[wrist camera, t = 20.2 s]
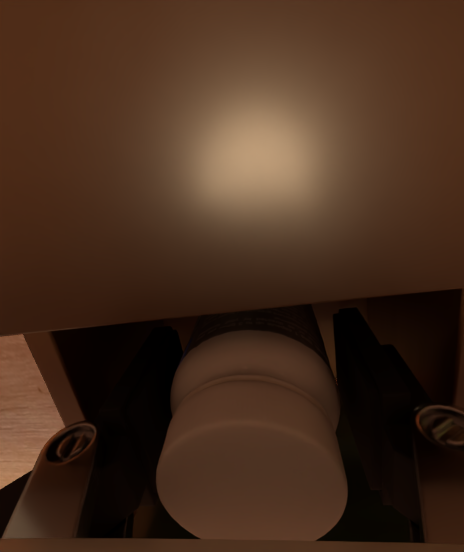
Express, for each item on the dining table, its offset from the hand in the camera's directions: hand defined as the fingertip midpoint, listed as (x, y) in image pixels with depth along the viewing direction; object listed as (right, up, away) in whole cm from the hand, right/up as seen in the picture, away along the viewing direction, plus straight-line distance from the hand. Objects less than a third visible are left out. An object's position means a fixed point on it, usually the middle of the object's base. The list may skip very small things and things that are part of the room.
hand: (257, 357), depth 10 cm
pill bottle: (0, +1, +4) cm, 4 cm away
